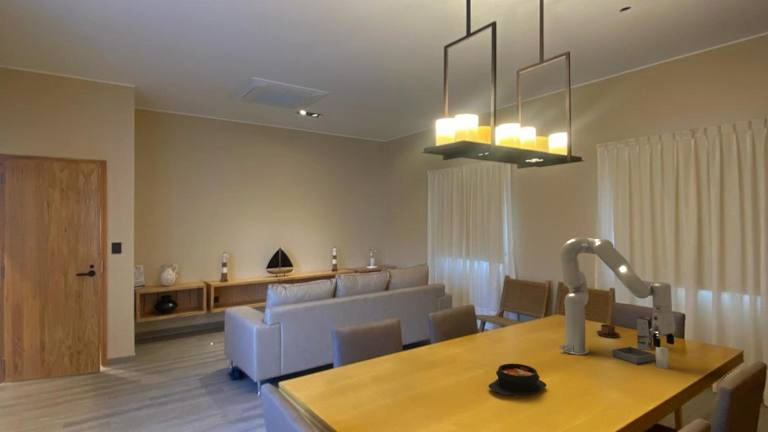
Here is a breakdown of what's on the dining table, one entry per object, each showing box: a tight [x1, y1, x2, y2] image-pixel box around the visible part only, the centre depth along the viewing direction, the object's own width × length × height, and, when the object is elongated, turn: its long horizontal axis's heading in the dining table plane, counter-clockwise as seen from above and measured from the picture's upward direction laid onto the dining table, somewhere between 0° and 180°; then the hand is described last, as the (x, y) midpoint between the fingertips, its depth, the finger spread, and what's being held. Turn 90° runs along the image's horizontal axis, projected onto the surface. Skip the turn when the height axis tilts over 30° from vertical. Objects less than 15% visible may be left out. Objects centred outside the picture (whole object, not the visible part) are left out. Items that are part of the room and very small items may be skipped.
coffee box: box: [636, 315, 653, 351], centre depth 227 cm, size 9×6×16 cm
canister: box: [655, 345, 670, 370], centre depth 197 cm, size 5×5×9 cm
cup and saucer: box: [596, 323, 620, 338], centre depth 250 cm, size 12×12×6 cm
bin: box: [611, 346, 656, 366], centre depth 208 cm, size 13×13×4 cm
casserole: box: [488, 363, 547, 397], centre depth 171 cm, size 25×19×8 cm
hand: (663, 345), depth 197 cm, fingers open, 9 cm apart
